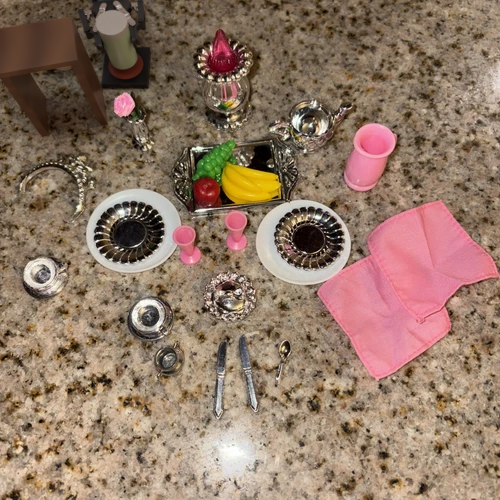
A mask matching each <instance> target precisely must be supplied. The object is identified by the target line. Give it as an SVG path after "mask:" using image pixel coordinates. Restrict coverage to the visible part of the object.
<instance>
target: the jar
mask: <svg viewBox="0 0 500 500" xmlns="http://www.w3.org/2000/svg"><path fill="white" fill-rule="evenodd" d="M96 28H97V30H98V32H99V34H100V37H101V39H102V42H103V44H104V49H105V50H106V52H107V55H108V57H109V60H110V63H111V64H112V65H113V66H114V67H115V68H117V69H128V68H130V67H132V66H133V65H134V64H135V63H136V61H137V53H136V49H135V48H134V47H133V43H132V39H131V34H130V29H129V26H128V21H127V18H126V16H125V15H124V14H123V13H122V12H120V11H117V10H109V11H106V12H103V13H102V14H100V15H99V16H98V18H97V20H96Z"/></svg>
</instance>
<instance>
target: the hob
mask: <svg viewBox="0 0 500 500" xmlns="http://www.w3.org/2000/svg"><path fill="white" fill-rule="evenodd" d="M135 49H136V53H137V61H136V63H135V64H134V65H133V66H132V67H130V68H128V69H117V68H115V67H114V66H113V65H112V64H111V63H110V60H109V57H108V55H107V52H106V50H105V53H104V58H103V66H102V75H101V81H100V84H101V86H102V89H149V86H150V75H151V74H150V73H151V60H152V50H151V47H150V46H137V47H135Z"/></svg>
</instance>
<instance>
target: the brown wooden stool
mask: <svg viewBox="0 0 500 500" xmlns="http://www.w3.org/2000/svg"><path fill="white" fill-rule="evenodd" d="M67 66H71V68H72V69H71V70H72V71H73V74H74V76H75V79H76V80H77V81H78V84H79V86H80V88H81V90H82V92H83V94H84V96H85V98H86V100H87V102H88V104H89V106H90V108H91V110H92V112H93V114H94V116H95V118H96V120H97V122H98V125H99V126H100V127H103V126H108V124H109V123H108V117H107V111H106V110H107V109H106V105H105V104H106V103H105V98H104V91H103V87H102V85H101V81H100V78H99V77H98V74H97V73H96V69H95V68H94V65H93V63H92V61H91V58H90V56H89V54H88V51H87V49H86V47H85V45H84V42H83V39H82V38H81V35H80V33H79V30H78V28H77V25H76V23H75V21H74V19H73V17H72V16H65V17H59V18H54V19H48V20H47V19H46V20H41V21H37V22H30V23H25V24H19V25H12V26H5V27H0V81H1V83H2V84H3V86H5V88H6V90H7V91H8V92H9V94H10V95H11V96H12V97H13V99H14V100H15V102H16V103H17V104H18V106H19V107H20V109H21V110H22V111H23V113H24V114H25V116H26V117H27V119H28V120H29V121H30V123H31V124H32V125H33V127H34V129H35V130H36V131H37V133H38V134H39V136H40V137H41V138H45V137H46V138H47V137H50V127H49V119H48V118H49V117H48V109H47V99H46V95H45V94H44V92H43V90H41V88H40V87H39V85H38V83H37V82H36V80H35V78H34V76H33V75H32V73H39V72H43V71H50V70H55V69H56V68H61V67H67ZM56 70H57V69H56Z"/></svg>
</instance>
